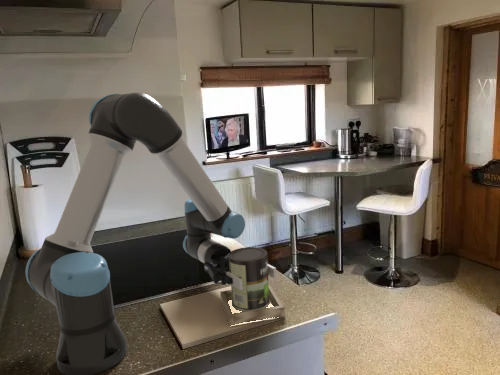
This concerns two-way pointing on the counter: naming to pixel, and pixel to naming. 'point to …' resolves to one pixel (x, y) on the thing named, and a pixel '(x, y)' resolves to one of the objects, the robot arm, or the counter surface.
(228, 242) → the counter surface
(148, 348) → the counter surface
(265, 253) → the coffee can
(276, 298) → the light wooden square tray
